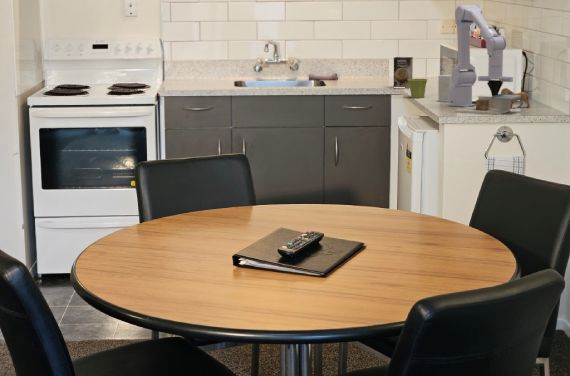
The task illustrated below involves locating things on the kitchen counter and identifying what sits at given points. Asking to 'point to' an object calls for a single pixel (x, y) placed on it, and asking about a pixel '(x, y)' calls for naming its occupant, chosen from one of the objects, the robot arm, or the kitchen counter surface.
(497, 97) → the cover
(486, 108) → the block
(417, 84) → the plant pot
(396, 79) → the coffee box
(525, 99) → the lion figurine
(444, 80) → the skincare box
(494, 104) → the puzzle board
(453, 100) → the robot arm
